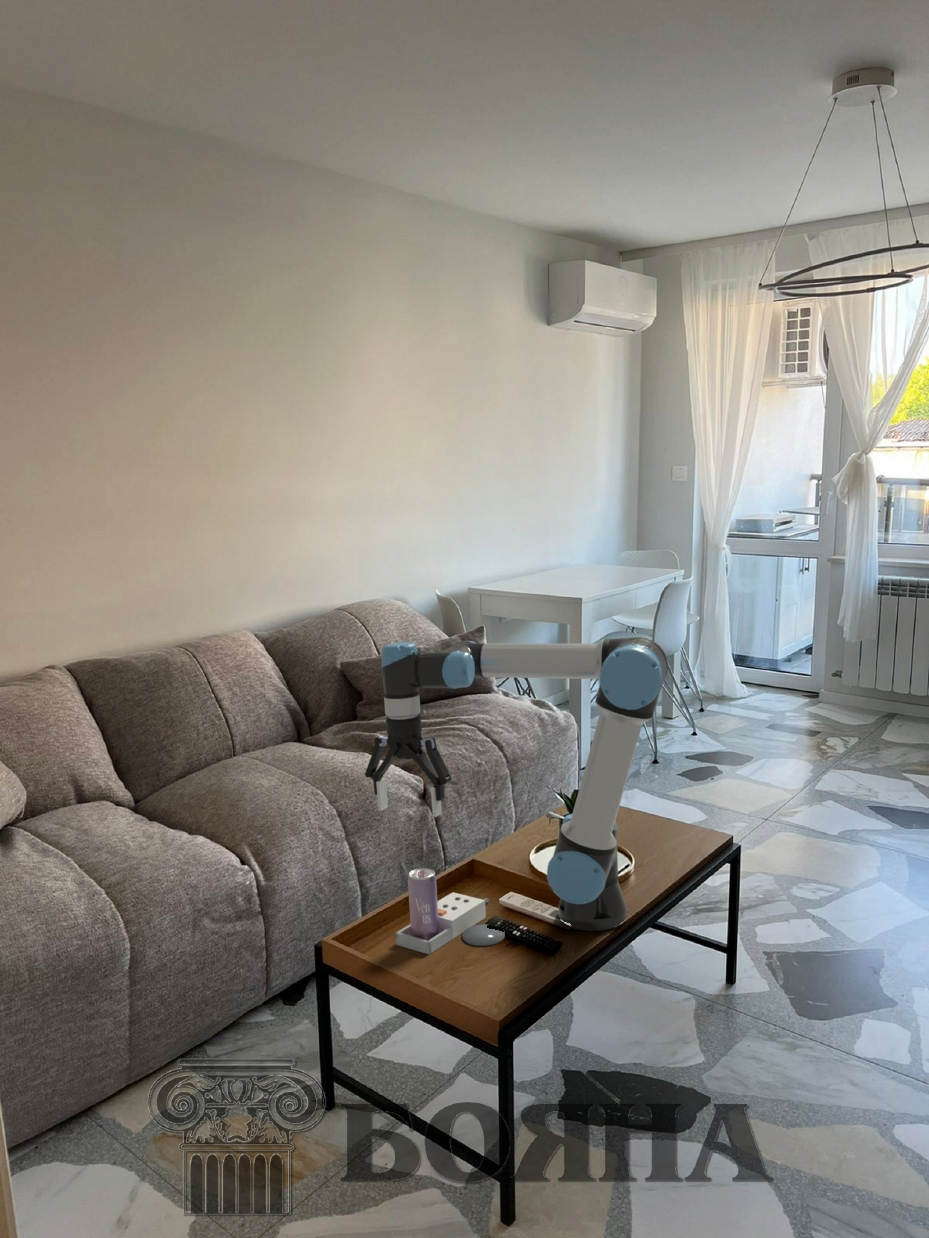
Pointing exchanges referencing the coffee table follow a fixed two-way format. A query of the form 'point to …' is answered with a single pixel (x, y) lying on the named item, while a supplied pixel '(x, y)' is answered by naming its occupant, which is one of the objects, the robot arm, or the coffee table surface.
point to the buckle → (446, 922)
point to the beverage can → (423, 903)
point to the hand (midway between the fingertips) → (409, 812)
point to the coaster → (482, 935)
